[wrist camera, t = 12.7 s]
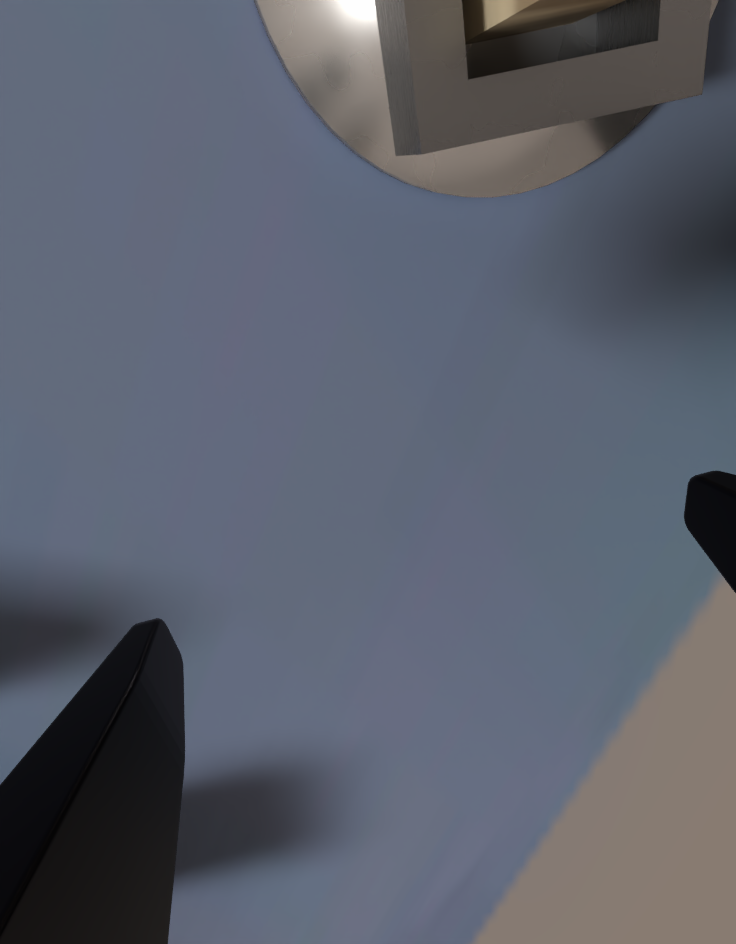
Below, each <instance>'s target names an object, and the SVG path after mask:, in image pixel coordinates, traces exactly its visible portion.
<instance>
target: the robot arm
mask: <svg viewBox="0 0 736 944" xmlns="http://www.w3.org/2000/svg"><path fill="white" fill-rule="evenodd" d="M684 520H685V524H686V526H687V528H688V530H689V531H690V533H691V534H692V536H693V537H694V538H695V540H696V541H697V542H698V544H699V545H700V546H701V548H702V549H703V550H704V552H705V553H706V554H707V556H708V557H709V558H710V560H711V561H712V562H713V564H714V565H715V566H716V568H717V569H718V570H719V572H720V573H721V574H722V576H723V577H724V578H725V580H726V581H727V582H728V584H729V585H730V586H731V588H732V589H733V590H734V592H735V593H736V475H734V474H729V473H725V472H721V471H710V472H707V473H703V474H699V475H695V476H694V477H692V478H691V479H690V481H689V482H688V488H687V496H686V503H685V511H684ZM184 763H185V722H184V674H183V661H182V657H181V654H180V651H179V649H178V647H177V645H176V643H175V641H174V639H173V637H172V635H171V633H170V631H169V629H168V627H167V625H166V624H165V622H164V621H163V620H162V619H159V618H156V619H152V620H148V621H145V622H141V623H138V624H135V625H134V626H133V627H132V628H131V629H130V630H129V631H128V632H127V634H126V635H125V636H124V637H123V638H122V640H121V641H120V642H119V643H118V644H117V646H116V647H115V648H114V649H113V650H112V652H111V653H110V654H109V655H108V656H107V658H106V659H105V660H104V661H103V662H102V664H101V665H100V666H99V667H98V668H97V670H96V671H95V672H94V673H93V674H92V676H91V677H90V678H89V679H88V680H87V682H86V683H85V684H84V685H83V686H82V688H81V689H80V690H79V691H78V692H77V694H76V695H75V696H74V697H73V698H72V700H71V701H70V702H69V703H68V704H67V706H66V707H65V708H64V709H63V710H62V712H61V713H60V714H59V715H58V716H57V718H56V719H55V720H54V721H53V722H52V723H51V725H50V726H49V727H48V728H47V729H46V731H45V732H44V733H43V734H42V735H41V737H40V738H39V739H38V740H37V741H36V743H35V744H34V745H33V746H32V747H31V749H30V750H29V751H28V752H27V753H26V755H25V756H24V757H23V758H22V759H21V761H20V762H19V763H18V764H17V765H16V767H15V768H14V769H13V770H12V771H11V773H10V774H9V775H8V776H7V777H6V779H5V780H4V781H3V782H2V783H1V785H0V944H168V935H169V924H170V914H171V903H172V893H173V882H174V872H175V861H176V851H177V840H178V830H179V819H180V809H181V798H182V788H183V777H184Z"/></svg>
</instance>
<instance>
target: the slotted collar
mask: <svg viewBox="0 0 736 944" xmlns="http://www.w3.org/2000/svg"><path fill="white" fill-rule="evenodd" d="M718 1H719V0H625V1H623V2H620V3H618V4H616V5H613V6H611V7H609V8H607V9H604V10H602V11H600V12H597V13H595V14H593V15H591V16H588V17H586V18H584V19H581V20H579V21H577V22H575V23H572V24H567V25H562V26H557V27H552V28H547V29H542V30H537V31H532V32H527V33H522V34H517V35H512V36H507V37H502V38H497V39H492V40H487V41H482V42H477V43H472V44H467V45H465V33H464V20H463V6H462V0H254V2H255V5H256V8H257V10H258V13H259V15H260V18H261V21H262V23H263V26H264V28H265V31H266V33H267V36H268V38H269V40H270V42H271V44H272V46H273V48H274V50H275V52H276V54H277V56H278V58H279V60H280V62H281V64H282V66H283V68H284V70H285V72H286V73H287V75H288V76H289V78H290V79H291V81H292V82H293V84H294V85H295V87H296V89H297V90H298V92H299V93H300V95H301V96H302V98H303V99H304V101H305V102H306V104H307V105H308V106H309V107H310V108H311V110H312V111H313V112H314V113H315V114H316V116H317V117H318V118H319V119H320V120H321V121H322V123H323V124H324V125H325V126H326V127H327V129H328V130H329V131H330V132H331V133H332V134H333V135H335V136H336V137H337V138H338V139H339V140H340V141H341V142H342V143H343V144H344V145H345V146H347V147H348V148H349V149H350V150H351V151H352V152H353V153H354V154H356V155H357V156H359V157H360V158H362V159H363V160H365V161H366V162H367V163H369V164H370V165H372V166H373V167H375V168H376V169H378V170H379V171H381V172H383V173H385V174H387V175H389V176H391V177H393V178H395V179H397V180H399V181H401V182H403V183H406V184H409V185H412V186H415V187H418V188H421V189H424V190H427V191H430V192H436V193H442V194H449V195H455V196H461V197H498V196H505V195H512V194H519V193H523V192H526V191H530V190H533V189H536V188H540V187H543V186H546V185H549V184H551V183H553V182H556V181H558V180H560V179H562V178H564V177H567V176H569V175H571V174H573V173H575V172H577V171H578V170H580V169H581V168H583V167H585V166H586V165H588V164H589V163H591V162H593V161H594V160H596V159H597V158H599V157H600V156H602V155H603V154H604V153H605V152H607V151H608V150H609V149H610V148H612V147H613V146H614V145H615V144H617V143H618V142H619V141H620V140H622V139H623V138H624V137H625V136H626V135H627V134H628V133H629V132H630V131H631V130H632V129H633V128H634V127H635V126H636V125H637V124H638V123H639V122H640V121H641V120H642V119H643V118H644V117H645V116H646V115H647V114H648V113H649V112H650V111H651V110H652V108H653V107H654V106H655V105H656V104H660V103H665V102H669V101H674V100H679V99H683V98H688V97H693V96H697V95H702V90H703V80H704V70H705V60H706V50H707V40H708V30H709V21H710V19H711V17H712V15H713V12H714V10H715V8H716V5H717V3H718Z"/></svg>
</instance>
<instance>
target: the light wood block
mask: <svg viewBox="0 0 736 944" xmlns="http://www.w3.org/2000/svg"><path fill="white" fill-rule="evenodd" d="M623 1H625V0H462V6H463V20H464V33H465V45H467V44H472V43H477V42H482V41H487V40H492V39H497V38H502V37H507V36H512V35H517V34H522V33H527V32H532V31H537V30H542V29H547V28H552V27H557V26H562V25H567V24H572V23H575V22H577V21H579V20H581V19H584V18H586V17H588V16H591V15H593V14H595V13H597V12H600V11H602V10H604V9H607V8H609V7H611V6H613V5H616V4H618V3H620V2H623Z"/></svg>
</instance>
